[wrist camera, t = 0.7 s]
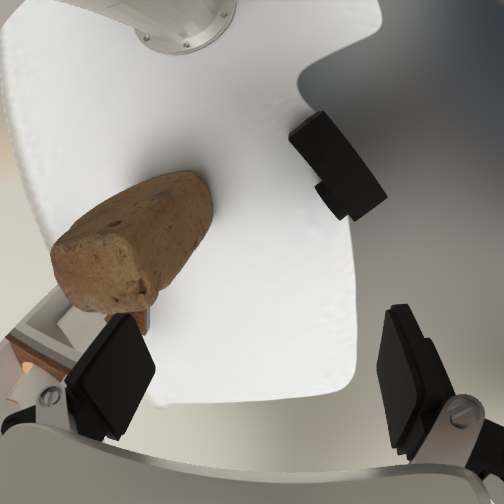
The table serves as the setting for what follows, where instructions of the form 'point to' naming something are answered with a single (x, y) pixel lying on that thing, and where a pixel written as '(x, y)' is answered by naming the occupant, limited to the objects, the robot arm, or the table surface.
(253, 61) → the table surface
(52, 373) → the toilet paper holder
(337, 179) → the digital camera
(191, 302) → the table surface
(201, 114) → the table surface
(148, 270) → the brown rounded lump
